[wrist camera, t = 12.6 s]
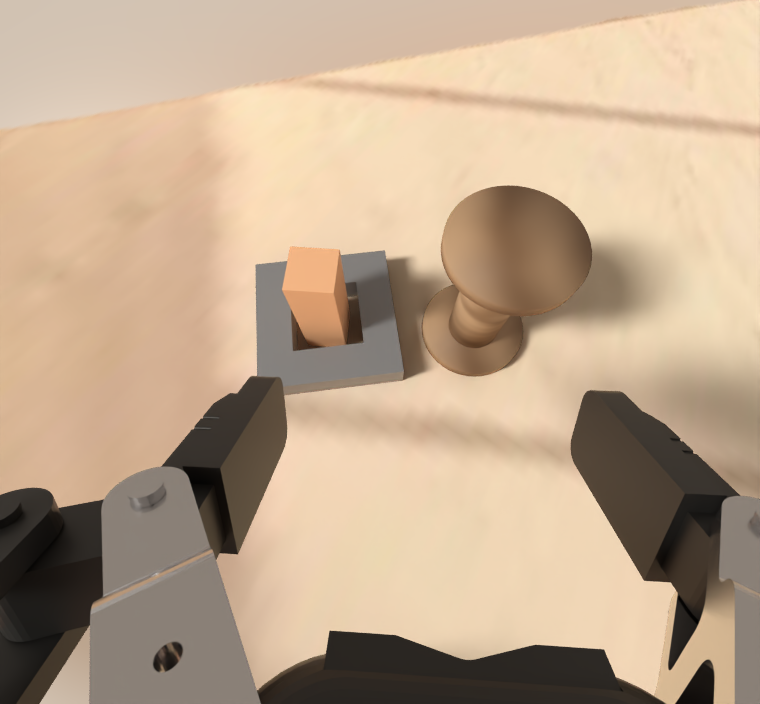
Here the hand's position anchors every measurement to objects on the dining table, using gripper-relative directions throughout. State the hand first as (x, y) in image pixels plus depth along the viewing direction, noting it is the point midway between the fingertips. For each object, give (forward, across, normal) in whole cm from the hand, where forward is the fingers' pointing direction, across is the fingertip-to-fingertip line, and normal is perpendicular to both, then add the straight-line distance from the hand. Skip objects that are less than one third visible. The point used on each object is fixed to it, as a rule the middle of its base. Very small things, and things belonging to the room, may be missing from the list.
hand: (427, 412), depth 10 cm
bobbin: (+25, -6, +7) cm, 26 cm away
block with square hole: (+24, +7, +7) cm, 26 cm away
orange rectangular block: (+24, +7, +7) cm, 26 cm away
